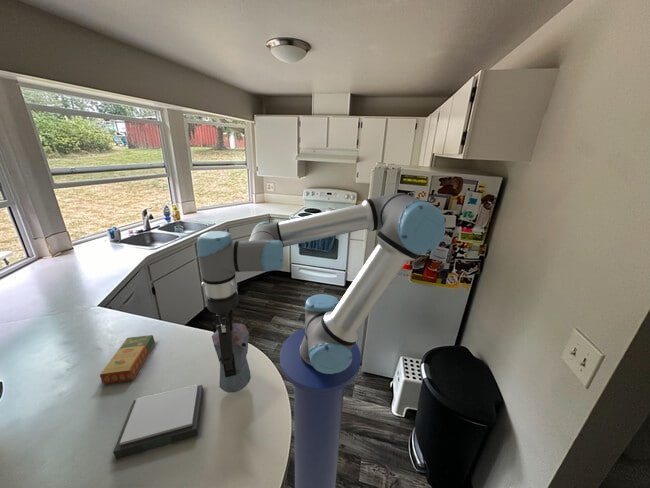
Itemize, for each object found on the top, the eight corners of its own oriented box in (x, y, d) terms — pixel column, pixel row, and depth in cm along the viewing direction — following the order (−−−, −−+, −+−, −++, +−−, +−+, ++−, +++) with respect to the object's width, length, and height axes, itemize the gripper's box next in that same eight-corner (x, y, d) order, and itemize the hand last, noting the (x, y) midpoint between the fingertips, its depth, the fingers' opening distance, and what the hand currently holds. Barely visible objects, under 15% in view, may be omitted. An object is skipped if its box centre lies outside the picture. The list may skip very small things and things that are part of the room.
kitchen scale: (203, 390, 74) (201, 382, 73) (197, 436, 62) (195, 427, 61) (135, 406, 69) (132, 398, 67) (115, 460, 57) (111, 450, 56)
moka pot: (239, 406, 66) (230, 346, 59) (203, 379, 73) (192, 323, 66) (264, 379, 74) (259, 324, 67) (230, 358, 81) (222, 306, 74)
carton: (102, 385, 74) (98, 374, 73) (129, 346, 89) (126, 336, 87) (133, 380, 76) (130, 370, 74) (155, 343, 91) (153, 333, 89)
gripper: (209, 273, 72) (219, 335, 80) (199, 323, 52) (213, 399, 60) (237, 270, 74) (243, 330, 82) (237, 316, 54) (246, 390, 62)
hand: (231, 359), depth 71 cm, fingers closed on moka pot, 10 cm apart
